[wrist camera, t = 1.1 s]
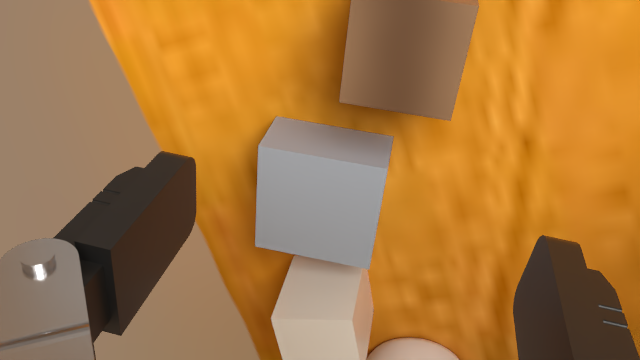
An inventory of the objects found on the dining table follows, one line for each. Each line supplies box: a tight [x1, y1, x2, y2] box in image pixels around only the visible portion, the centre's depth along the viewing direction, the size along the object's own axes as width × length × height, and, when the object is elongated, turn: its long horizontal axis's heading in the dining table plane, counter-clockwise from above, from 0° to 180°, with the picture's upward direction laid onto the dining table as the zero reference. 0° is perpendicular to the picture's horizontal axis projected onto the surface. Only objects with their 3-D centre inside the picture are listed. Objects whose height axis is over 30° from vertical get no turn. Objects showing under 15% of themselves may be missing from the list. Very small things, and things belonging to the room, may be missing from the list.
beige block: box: [271, 256, 374, 360], centre depth 36 cm, size 5×5×6 cm
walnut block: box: [339, 0, 479, 121], centre depth 25 cm, size 5×5×6 cm
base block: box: [255, 116, 394, 269], centre depth 32 cm, size 7×7×4 cm
